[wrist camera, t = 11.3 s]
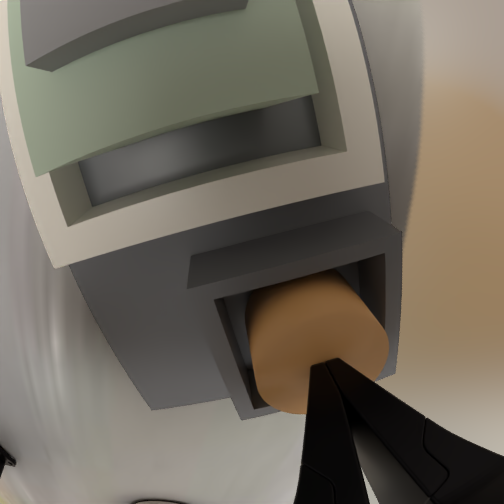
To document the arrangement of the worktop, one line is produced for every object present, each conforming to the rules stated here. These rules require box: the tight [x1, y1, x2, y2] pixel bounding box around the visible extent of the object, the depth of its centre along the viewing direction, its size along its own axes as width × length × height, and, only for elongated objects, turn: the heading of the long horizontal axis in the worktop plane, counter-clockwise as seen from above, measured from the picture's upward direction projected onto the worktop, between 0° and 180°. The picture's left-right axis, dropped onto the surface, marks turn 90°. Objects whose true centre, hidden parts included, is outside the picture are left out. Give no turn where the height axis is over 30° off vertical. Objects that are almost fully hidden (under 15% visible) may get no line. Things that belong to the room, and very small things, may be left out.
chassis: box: [0, 0, 402, 420], centre depth 8 cm, size 20×12×3 cm, turn 13°
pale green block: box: [7, 0, 319, 177], centre depth 5 cm, size 6×4×6 cm
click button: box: [245, 268, 389, 414], centre depth 10 cm, size 4×4×3 cm
